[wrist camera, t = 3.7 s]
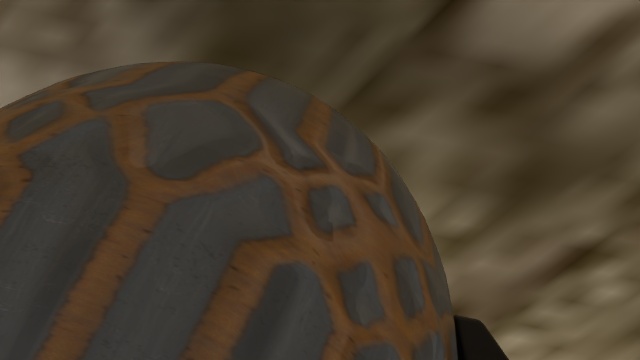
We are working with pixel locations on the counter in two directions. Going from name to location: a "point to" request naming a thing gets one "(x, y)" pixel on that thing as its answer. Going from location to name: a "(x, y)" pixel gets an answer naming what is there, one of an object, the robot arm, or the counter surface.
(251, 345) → the vase
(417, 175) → the counter surface
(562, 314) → the counter surface
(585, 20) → the counter surface
